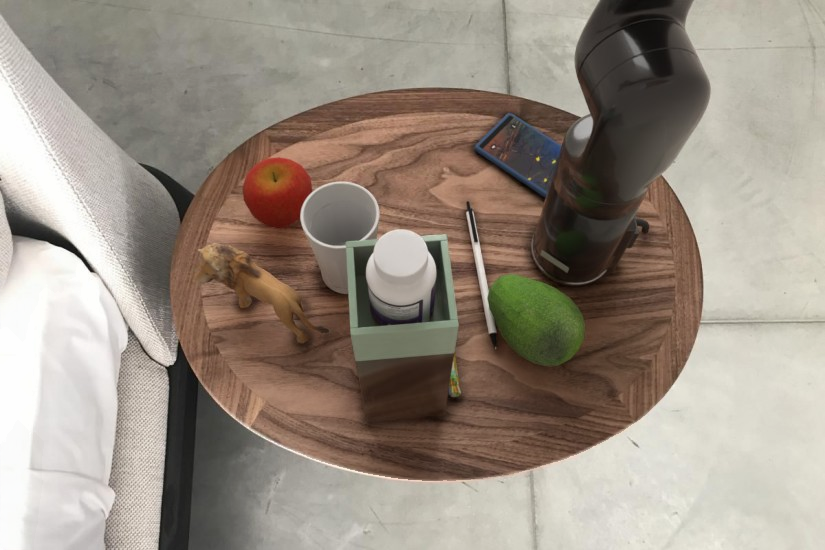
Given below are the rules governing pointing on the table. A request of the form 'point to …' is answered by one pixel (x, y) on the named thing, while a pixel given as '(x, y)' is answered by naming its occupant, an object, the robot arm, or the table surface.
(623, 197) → the robot arm
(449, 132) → the table surface
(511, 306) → the fruit
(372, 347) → the green open-top box
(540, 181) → the smartphone
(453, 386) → the pencil
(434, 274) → the pill bottle
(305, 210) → the cup
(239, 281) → the lion figurine
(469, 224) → the pen
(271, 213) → the apple
